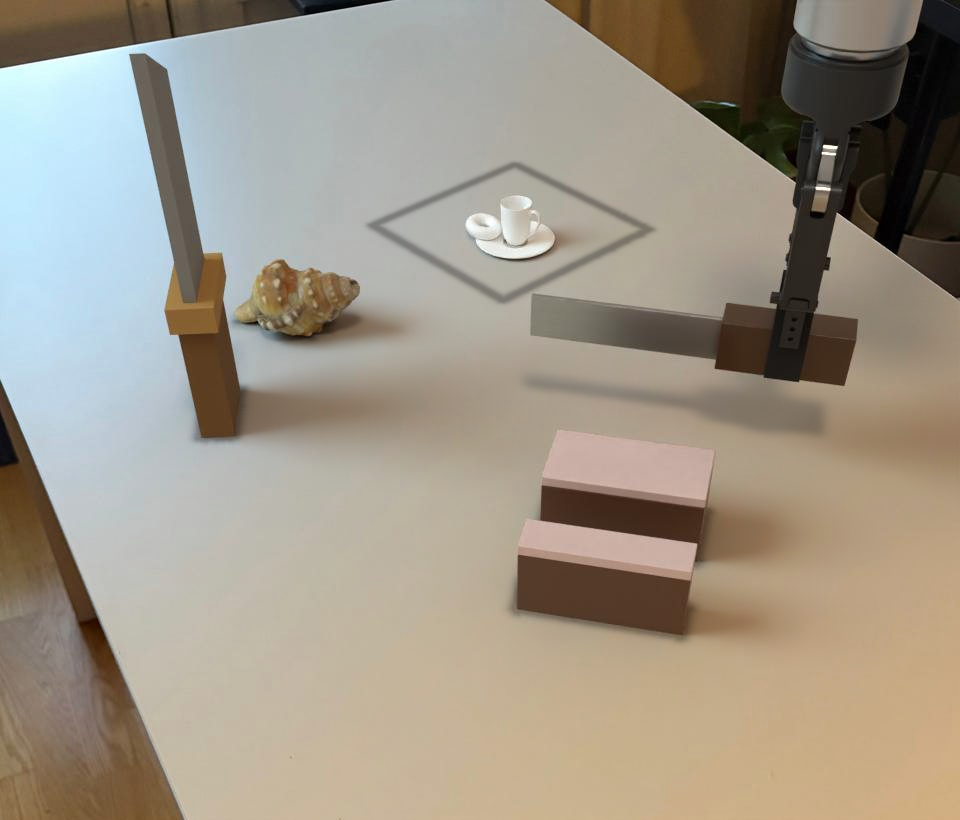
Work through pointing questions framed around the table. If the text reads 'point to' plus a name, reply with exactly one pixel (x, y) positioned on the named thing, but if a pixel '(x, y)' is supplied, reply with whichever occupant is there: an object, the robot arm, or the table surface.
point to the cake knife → (697, 334)
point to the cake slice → (604, 576)
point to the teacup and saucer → (511, 230)
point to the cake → (627, 486)
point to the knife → (189, 263)
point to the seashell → (296, 299)
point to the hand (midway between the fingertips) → (783, 363)
